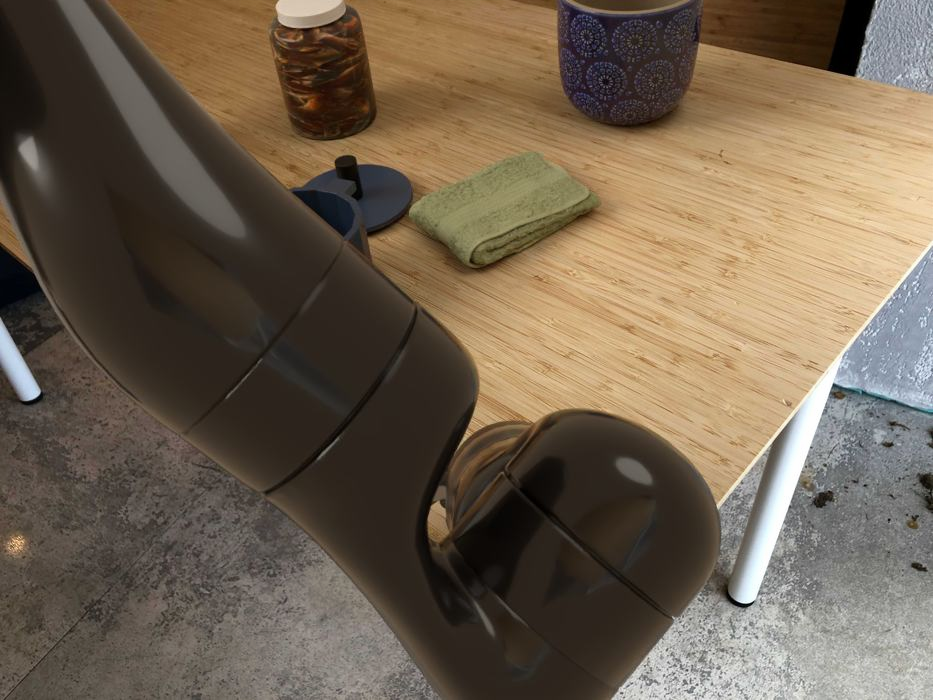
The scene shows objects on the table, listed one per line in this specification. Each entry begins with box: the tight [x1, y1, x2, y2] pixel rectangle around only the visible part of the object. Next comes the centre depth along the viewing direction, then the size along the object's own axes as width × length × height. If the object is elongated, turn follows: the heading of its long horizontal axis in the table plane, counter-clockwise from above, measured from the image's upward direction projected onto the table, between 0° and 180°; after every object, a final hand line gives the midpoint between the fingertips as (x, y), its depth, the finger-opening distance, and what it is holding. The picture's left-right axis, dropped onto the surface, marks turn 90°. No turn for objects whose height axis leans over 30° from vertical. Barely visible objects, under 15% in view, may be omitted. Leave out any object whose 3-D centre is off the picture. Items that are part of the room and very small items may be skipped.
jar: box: [268, 0, 378, 141], centre depth 105 cm, size 12×12×15 cm
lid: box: [301, 154, 414, 233], centre depth 93 cm, size 13×13×6 cm
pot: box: [288, 178, 374, 264], centre depth 81 cm, size 12×18×8 cm
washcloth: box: [408, 151, 602, 269], centre depth 90 cm, size 13×18×3 cm
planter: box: [556, 0, 705, 126], centre depth 101 cm, size 17×17×15 cm
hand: (499, 464), depth 60 cm, fingers closed on pear, 5 cm apart
